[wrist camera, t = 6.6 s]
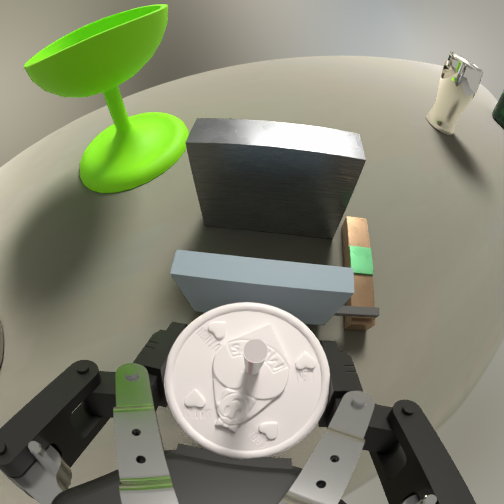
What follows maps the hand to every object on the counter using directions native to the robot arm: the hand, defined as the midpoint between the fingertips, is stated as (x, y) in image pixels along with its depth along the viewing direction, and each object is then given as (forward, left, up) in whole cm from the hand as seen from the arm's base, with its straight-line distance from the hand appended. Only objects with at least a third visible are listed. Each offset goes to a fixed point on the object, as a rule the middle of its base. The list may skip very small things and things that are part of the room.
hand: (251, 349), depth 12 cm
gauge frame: (+2, +9, -8) cm, 12 cm away
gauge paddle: (+2, +4, -7) cm, 9 cm away
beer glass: (+30, +40, -8) cm, 51 cm away
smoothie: (0, -2, -7) cm, 7 cm away
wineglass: (-19, +23, -8) cm, 31 cm away
